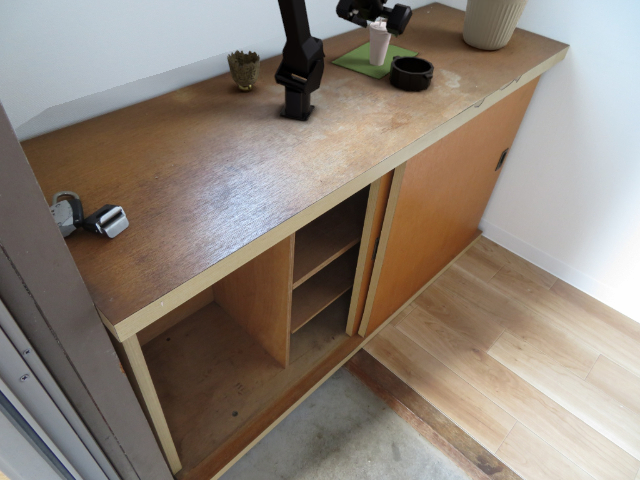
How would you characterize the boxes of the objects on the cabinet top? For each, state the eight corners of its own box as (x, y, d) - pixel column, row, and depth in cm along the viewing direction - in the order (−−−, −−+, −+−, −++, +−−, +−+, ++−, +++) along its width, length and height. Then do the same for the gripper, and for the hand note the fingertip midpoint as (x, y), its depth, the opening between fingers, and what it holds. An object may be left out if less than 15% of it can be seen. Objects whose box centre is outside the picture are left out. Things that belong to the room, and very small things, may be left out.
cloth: (379, 79, 113) (379, 78, 113) (331, 63, 119) (331, 61, 119) (418, 54, 126) (418, 52, 126) (373, 40, 132) (373, 39, 132)
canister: (452, 50, 129) (473, -32, 114) (454, 29, 142) (473, -47, 127) (516, 59, 127) (546, -23, 112) (511, 37, 139) (538, -40, 124)
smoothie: (359, 61, 120) (366, 5, 110) (376, 56, 123) (384, 1, 113) (376, 70, 117) (384, 13, 107) (393, 64, 120) (402, 8, 110)
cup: (264, 83, 108) (262, 51, 103) (258, 97, 103) (256, 64, 98) (234, 81, 109) (231, 48, 103) (227, 95, 104) (223, 61, 98)
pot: (410, 97, 107) (414, 79, 104) (377, 75, 115) (379, 58, 112) (441, 88, 111) (446, 71, 108) (407, 68, 119) (411, 51, 116)
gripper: (417, -33, 96) (428, 10, 110) (346, -48, 103) (365, -6, 117) (393, 15, 96) (407, 51, 111) (324, -4, 104) (346, 32, 118)
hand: (381, 30), depth 114 cm, fingers open, 9 cm apart
